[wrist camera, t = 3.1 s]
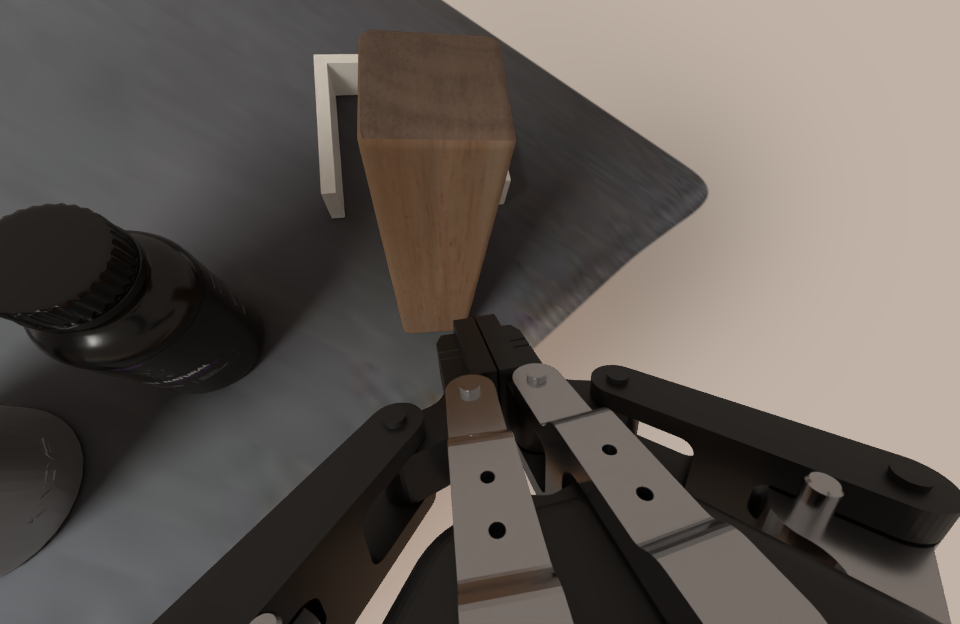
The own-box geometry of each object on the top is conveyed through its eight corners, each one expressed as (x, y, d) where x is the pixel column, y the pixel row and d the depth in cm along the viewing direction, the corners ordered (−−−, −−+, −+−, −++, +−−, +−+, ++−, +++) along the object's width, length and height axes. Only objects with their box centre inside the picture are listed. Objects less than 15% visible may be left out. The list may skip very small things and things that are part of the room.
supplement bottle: (210, 417, 23) (2, 388, 12) (131, 355, 24) (-136, 272, 13) (291, 332, 25) (180, 242, 14) (217, 278, 26) (57, 151, 15)
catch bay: (331, 218, 29) (321, 193, 26) (323, 87, 33) (313, 54, 31) (503, 204, 31) (510, 180, 29) (474, 84, 36) (478, 53, 33)
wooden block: (400, 227, 29) (357, -67, 13) (456, 226, 30) (486, -55, 13) (403, 335, 26) (354, 138, 10) (466, 331, 27) (521, 141, 10)
